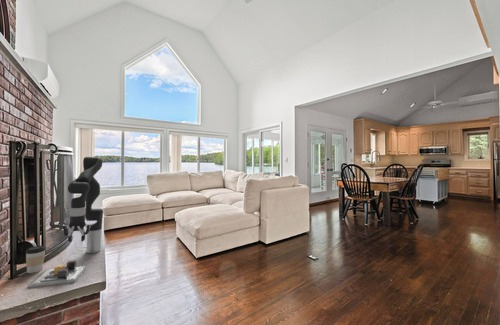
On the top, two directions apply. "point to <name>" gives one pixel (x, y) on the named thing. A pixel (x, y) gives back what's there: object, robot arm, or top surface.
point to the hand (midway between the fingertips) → (76, 241)
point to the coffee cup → (35, 258)
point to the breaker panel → (66, 280)
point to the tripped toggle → (58, 268)
